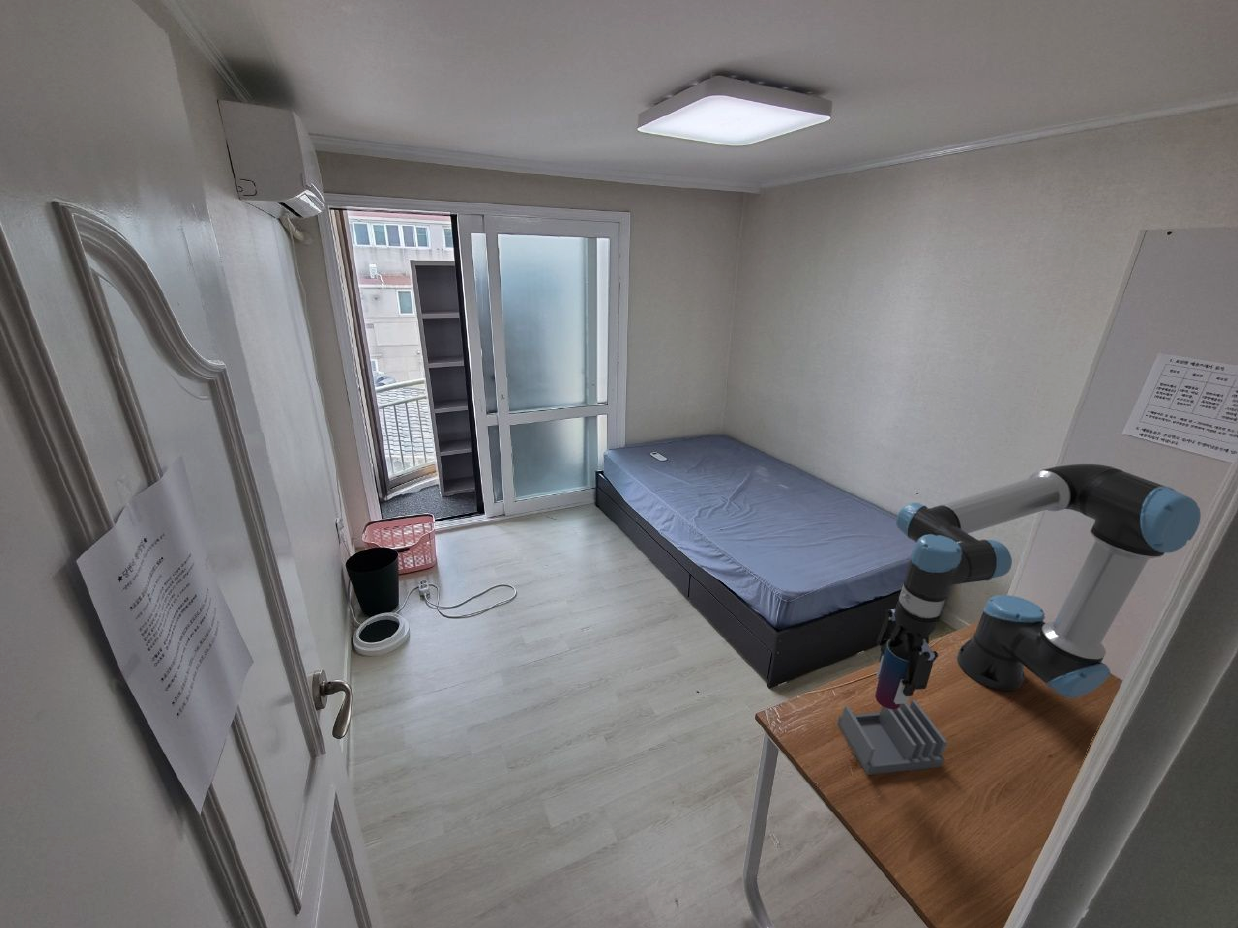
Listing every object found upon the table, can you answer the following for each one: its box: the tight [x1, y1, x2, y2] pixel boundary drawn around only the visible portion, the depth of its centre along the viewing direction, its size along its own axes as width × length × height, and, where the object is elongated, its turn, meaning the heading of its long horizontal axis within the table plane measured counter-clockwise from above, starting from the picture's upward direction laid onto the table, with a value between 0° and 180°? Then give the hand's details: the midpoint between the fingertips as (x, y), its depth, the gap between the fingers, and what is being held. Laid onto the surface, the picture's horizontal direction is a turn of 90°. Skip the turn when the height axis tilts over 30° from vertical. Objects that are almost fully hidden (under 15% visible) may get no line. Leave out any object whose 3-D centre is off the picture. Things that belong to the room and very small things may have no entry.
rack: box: [837, 699, 948, 776], centre depth 116 cm, size 18×13×7 cm
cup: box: [875, 639, 909, 710], centre depth 108 cm, size 7×7×15 cm
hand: (891, 689), depth 110 cm, fingers closed on cup, 6 cm apart
